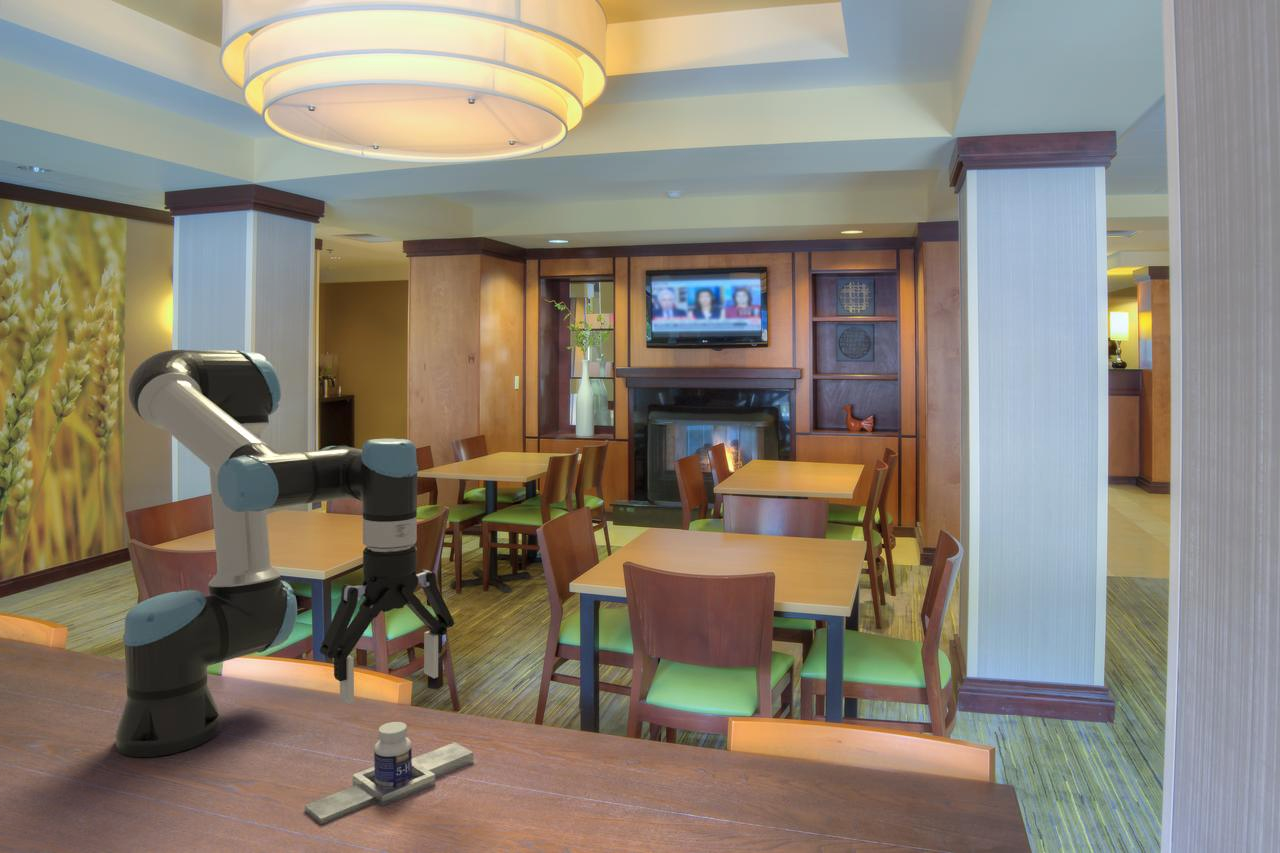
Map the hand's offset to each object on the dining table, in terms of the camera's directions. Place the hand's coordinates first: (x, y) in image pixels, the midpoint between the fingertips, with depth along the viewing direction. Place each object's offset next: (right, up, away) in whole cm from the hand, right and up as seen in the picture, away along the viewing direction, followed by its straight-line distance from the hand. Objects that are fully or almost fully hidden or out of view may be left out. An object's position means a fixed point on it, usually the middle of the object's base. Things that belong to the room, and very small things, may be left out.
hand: (390, 687), depth 121 cm
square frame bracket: (0, -15, +1) cm, 15 cm away
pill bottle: (0, -15, +1) cm, 15 cm away
